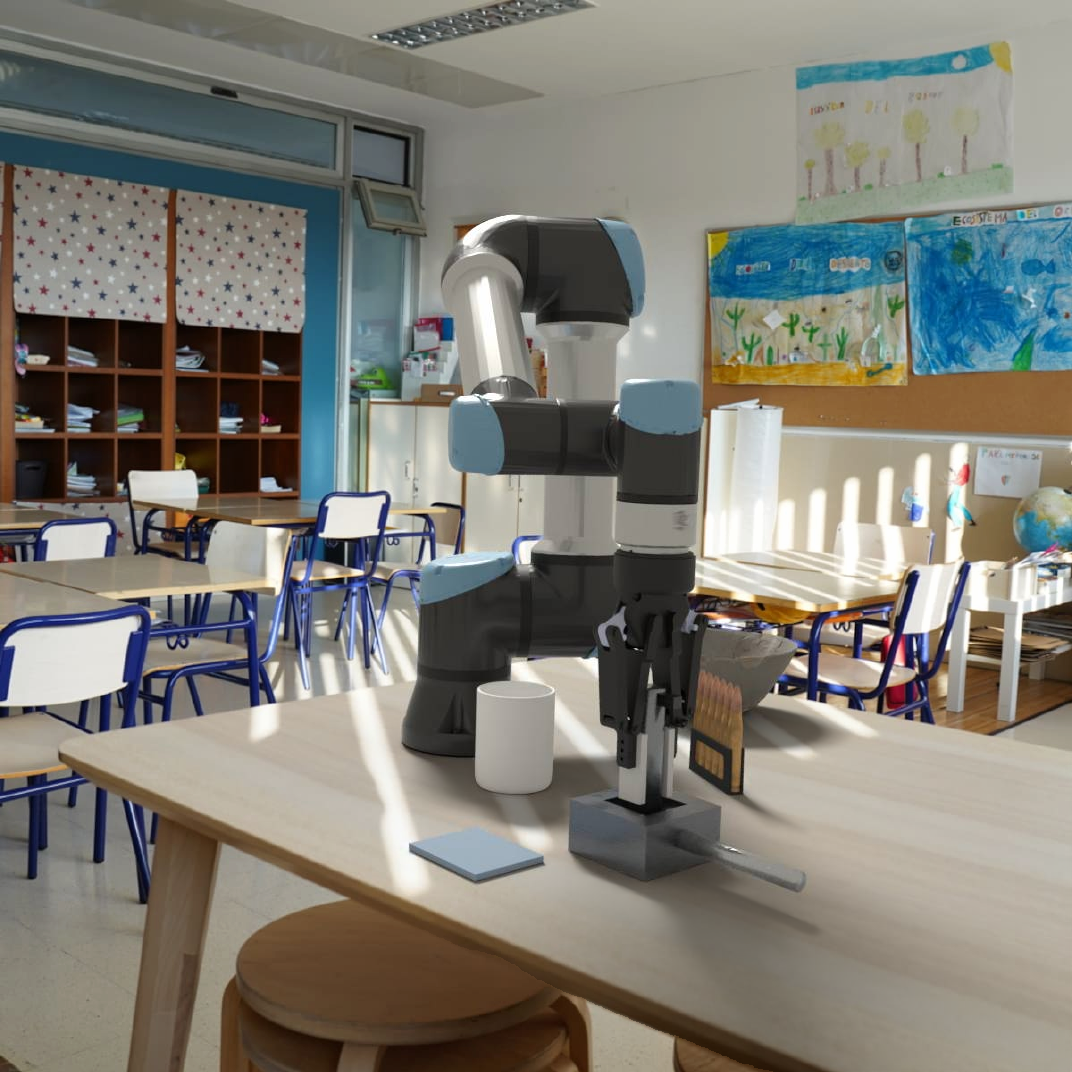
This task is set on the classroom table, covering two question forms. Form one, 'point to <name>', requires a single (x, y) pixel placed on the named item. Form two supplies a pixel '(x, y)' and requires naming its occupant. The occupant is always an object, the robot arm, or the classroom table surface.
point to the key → (655, 745)
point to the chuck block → (663, 839)
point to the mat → (476, 853)
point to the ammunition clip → (718, 735)
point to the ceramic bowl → (746, 661)
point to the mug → (514, 736)
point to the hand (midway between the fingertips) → (645, 796)
